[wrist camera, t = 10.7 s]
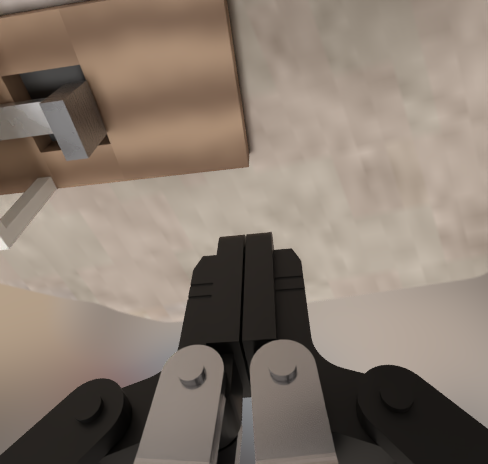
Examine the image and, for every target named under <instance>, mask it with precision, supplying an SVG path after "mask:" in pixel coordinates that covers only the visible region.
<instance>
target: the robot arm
mask: <svg viewBox="0 0 488 464" xmlns="http://www.w3.org/2000/svg"><path fill="white" fill-rule="evenodd" d="M188 297H189V299H188V301H187V306H186V311H185V316H184V322H183V327H182V332H181V338H180V343H179V347H178V351H177V352H176V353H174V354H173V355H172V356H171V357H170V358H169V359H168V360H167V362H166V363H165V365H164V366H163V369H162V371H161V372H159V373H158V374H156V375H154V376H152V377H150V378H148V379H145V380H142V381H140V382H137V383H134V384H132V385H129V386H126V387H124V388H121V387H120V386H119V385H118V384H117V383H116V382H114V381H112V380H110V379H95V380H92V381H88V382H86V383H84V384H82V385H81V386H79V387H78V388H76V389H75V390H74V391H73V392H72V393H70V394H69V395H68V396H67V397H66V398H65V399H64V400H62V401H61V402H60V403H59V404H58V405H57V406H56V407H55V408H54V409H52V410H51V411H50V412H49V413H48V414H47V415H46V416H44V417H43V418H42V419H41V420H40V421H39V422H38V423H36V424H35V425H34V426H33V427H32V428H31V429H30V430H29V431H27V432H26V433H25V434H24V435H23V436H22V437H21V438H19V439H18V440H17V441H16V442H15V443H14V444H13V445H12V446H10V447H9V448H8V449H7V450H6V451H5V452H4V453H2V454H1V455H0V464H239V460H240V450H241V440H242V422H241V421H242V401H243V399H242V398H245V397H252V412H253V428H254V444H255V460H256V464H488V429H487V428H486V427H485V426H483V425H482V424H481V423H479V422H478V421H477V420H475V419H474V418H473V417H472V416H470V415H469V414H468V413H466V412H465V411H464V410H462V409H461V408H460V407H459V406H457V405H456V404H455V403H453V402H452V401H451V400H449V399H448V398H447V397H445V396H444V395H443V394H442V393H440V392H439V391H438V390H436V389H435V388H434V387H433V386H431V385H430V384H429V383H427V382H426V381H425V380H423V379H422V378H421V377H419V376H418V375H417V374H415V373H414V372H412V371H410V370H408V369H406V368H403V367H400V366H395V365H381V366H377V367H374V368H372V369H370V370H369V371H367V372H366V373H365V374H364V373H360V372H356V371H352V370H348V369H344V368H341V367H337V366H335V365H333V364H331V363H330V362H328V361H327V360H325V359H324V358H323V357H322V356H321V355H320V354H319V353H318V352H317V350H316V349H315V347H314V345H313V343H312V339H311V332H310V325H309V318H308V310H307V302H306V294H305V287H304V279H303V272H302V264H301V260H300V259H299V257H298V256H297V255H296V253H295V252H294V251H293V249H280V250H274V245H273V237H272V232H268V233H257V234H247V235H246V236H245V235H237V236H226V237H220V238H219V242H218V250H217V255H213V256H203V257H202V259H201V260H200V261H199V263H198V264H197V266H196V267H195V268H194V270H193V275H192V280H191V287H190V290H189V296H188Z"/></svg>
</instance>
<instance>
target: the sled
mask: <svg viewBox="0 0 488 464" xmlns="http://www.w3.org/2000/svg"><path fill="white" fill-rule="evenodd" d="M46 134H54V136H55V138H56V140H57V142H58V144H59V146H60V148H61V150H62V152H63V155H64V157H65V159H66V161H70V160H78V159H87V158H89V157H90V156H91V154H92V153H93V152H94V150H95V149H96V148H97V146H98V145H99V144H100V142H101V141H102V140H103V138H104V137H105V136H106V134H107V130H106V128H105V125H104V123H103V120H102V118H101V115H100V112H99V110H98V107H97V105H96V102H95V100H94V97H93V94H92V92H91V89H90V87H89V84H88V81H87V80H83V81H77V82H70V83H65V84H64V85H63V86H61V87H60V88H59V89H57V90H56V91H55V92H53V93H52V94H51V95H50V96H48V97H47V98H41V99H34V100H27V101H20V102H13V103H6V104H0V140H8V139H16V138H23V137H31V136H39V135H46Z"/></svg>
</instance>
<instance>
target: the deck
mask: <svg viewBox="0 0 488 464" xmlns="http://www.w3.org/2000/svg"><path fill="white" fill-rule="evenodd" d="M83 80H87V81H88V84H89V87H90V89H91V92H92V94H93V97H94V100H95V102H96V105H97V107H98V110H99V112H100V115H101V118H102V120H103V123H104V125H105V128H106V130H107V134H106V136H105V137H104V138H103V140H102V141H101V142H100V144H99V145H98V146H97V148H96V149H95V150H94V152H93V153H92V154H91V156H90V157H89V158H87V159H78V160H70V161H66V159H65V157H64V155H63V152H62V150H61V148H60V146H59V144H58V142H57V140H56V138H55V136H54V134H46V135H39V136H31V137H23V138H16V139H8V140H0V195H4V194H13V193H22V192H25V191H26V190H27V189H28V188H29V187H30V186H31V185H32V184H33V183H34V181H35V180H36V179H37V178H43V177H51V178H52V180H53V182H54V184H55V186H56V188H57V189H58V188H66V187H75V186H84V185H93V184H102V183H111V182H120V181H128V180H137V179H146V178H155V177H164V176H173V175H182V174H190V173H199V172H208V171H217V170H226V169H235V168H244V167H249V148H248V141H247V135H246V128H245V121H244V114H243V107H242V100H241V93H240V87H239V80H238V73H237V66H236V59H235V52H234V46H233V39H232V32H231V25H230V18H229V11H228V4H227V0H90V1H84V2H78V3H72V4H66V5H60V6H55V7H49V8H43V9H37V10H31V11H25V12H19V13H13V14H8V15H2V16H0V104H6V103H13V102H20V101H27V100H34V99H41V98H47V97H48V96H50V95H51V94H52V93H53V92H55V91H56V90H57V89H59V88H60V87H61V86H63V85H64V84H65V83H70V82H77V81H83Z"/></svg>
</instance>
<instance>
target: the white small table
mask: <svg viewBox="0 0 488 464" xmlns="http://www.w3.org/2000/svg"><path fill="white" fill-rule="evenodd" d="M56 189H57V188H56V186H55V184H54V182H53V180H52V178H51V177H43V178H37V179H36V180H35V181H34V183H33V184H32V185H31V186H30V187H29V188H28V189H27V190H26V191H25V193H24V194H23V195H22V196H21V197H20V198H19V199H18V200H17V201H16V202H15V204H14V205H13V206H12V207H11V208H10V209H9V210H8V211H7V212H6V213H5V215H4V216H3V217H2V218H1V219H0V250H5V249H10V247H11V246H12V245H13V244H14V242H15V241H16V240H17V238H18V237H19V236H20V235H21V233H22V232H23V231H24V230H25V228H26V227H27V226H28V225H29V223H30V222H31V221H32V220H33V218H34V217H35V216H36V214H37V213H38V212H39V211H40V209H41V208H42V207H43V206H44V204H45V203H46V202H47V201H48V199H49V198H50V197H51V196H52V194H53V193H54V192H55V190H56Z"/></svg>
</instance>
